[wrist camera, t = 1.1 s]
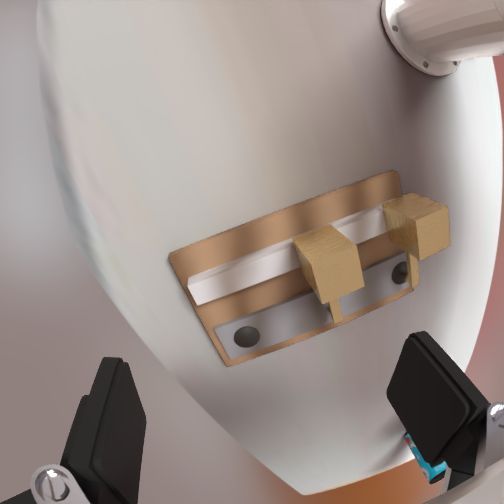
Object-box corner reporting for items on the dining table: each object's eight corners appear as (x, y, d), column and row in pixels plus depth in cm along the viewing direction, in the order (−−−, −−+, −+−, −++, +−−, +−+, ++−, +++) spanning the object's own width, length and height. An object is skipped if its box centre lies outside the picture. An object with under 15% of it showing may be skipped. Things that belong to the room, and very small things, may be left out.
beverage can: (401, 433, 53) (428, 482, 39) (423, 418, 52) (452, 465, 38) (406, 440, 55) (431, 485, 41) (426, 426, 54) (454, 470, 40)
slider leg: (326, 221, 30) (356, 245, 23) (346, 304, 34) (372, 339, 27) (289, 235, 30) (310, 264, 23) (315, 317, 34) (335, 356, 27)
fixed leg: (407, 190, 30) (447, 206, 23) (417, 271, 34) (450, 298, 27) (377, 202, 30) (415, 220, 23) (391, 284, 34) (422, 314, 27)
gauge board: (392, 170, 31) (408, 174, 28) (409, 286, 37) (421, 297, 34) (169, 253, 31) (165, 265, 28) (226, 360, 37) (228, 378, 34)
